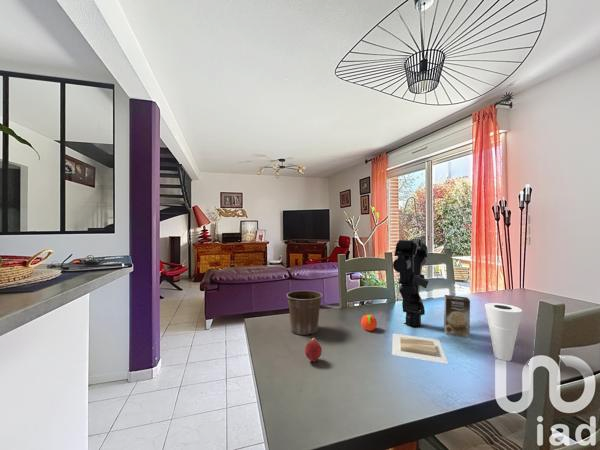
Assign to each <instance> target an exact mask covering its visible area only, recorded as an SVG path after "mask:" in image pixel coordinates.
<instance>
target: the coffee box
mask: <svg viewBox="0 0 600 450" xmlns="http://www.w3.org/2000/svg"><path fill="white" fill-rule="evenodd" d="M443 314H444V316H443V317H444V318H443V319H444V321H443V322H444V324H443V331H444V334H445V335H448V336H449V335H450V336H455V337H462V338H467V339H470V334H471V333H470V332H471V330H470V329H471V326H470V325H471V324H470V323H471V322H470V321H471V319H470V318H471V300H470V298H468V297H467V296H466V297H465V296H460V295H459V296H457V295H451V294H449V295H448V294H444V313H443Z"/></svg>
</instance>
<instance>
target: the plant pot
mask: <svg viewBox="0 0 600 450" xmlns="http://www.w3.org/2000/svg"><path fill="white" fill-rule="evenodd" d="M286 297H287V305H288V308H289V320H290V330H291V332H292V333H294V334H295V335H300V336H309V334H311V335H313V334H316V333H317V332H318V330H319V319H320V308H321V303H322V297H323V293H321V292H318V291H314V290H294V291H290V292H287V293H286Z"/></svg>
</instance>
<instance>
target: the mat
mask: <svg viewBox="0 0 600 450" xmlns="http://www.w3.org/2000/svg"><path fill="white" fill-rule="evenodd" d="M400 337H404V338H412V339H419V340H426V341H433V342H434V345H435V349H436V352H437V356H431V355H424V354H418V353H411V352H405V351H401V346H400ZM391 342H392V344H391V345H392V347H391V355H392V356H398V357H402V358H409V359H415V360H422V361H427V362H434V363H438V364H440V363H441V364H446V365H448V364H449V362H448V359H447V357H446V354H445V351H444V348H443V345H442V343H441V340H440V339H437V338H430V337H421V336H415V335H407V334H400V333H392V341H391Z"/></svg>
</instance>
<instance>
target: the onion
mask: <svg viewBox="0 0 600 450" xmlns="http://www.w3.org/2000/svg"><path fill="white" fill-rule="evenodd" d="M322 350H323V349H322V346H321V344H320V343H319V342H318V341H316V338H315V337H313V338H312V339H311V340H309V341H308V342H307V343H306V345H305V347H304V354H305V357H306V358H307V359H308V360H309V361H311V362H316V361H317V360H318V359H319V358H321V356H322Z"/></svg>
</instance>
